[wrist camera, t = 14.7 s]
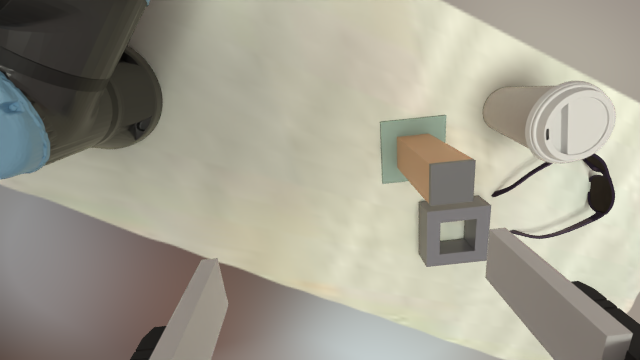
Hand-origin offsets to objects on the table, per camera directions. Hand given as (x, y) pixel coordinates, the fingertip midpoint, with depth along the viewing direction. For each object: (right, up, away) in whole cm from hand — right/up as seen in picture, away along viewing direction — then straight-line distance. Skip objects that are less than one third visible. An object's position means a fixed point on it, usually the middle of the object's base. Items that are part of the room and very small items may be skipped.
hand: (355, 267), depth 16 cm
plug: (+13, +9, +36) cm, 39 cm away
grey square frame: (+20, -4, +41) cm, 46 cm away
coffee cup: (+26, +15, +35) cm, 46 cm away
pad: (+13, +9, +36) cm, 40 cm away
